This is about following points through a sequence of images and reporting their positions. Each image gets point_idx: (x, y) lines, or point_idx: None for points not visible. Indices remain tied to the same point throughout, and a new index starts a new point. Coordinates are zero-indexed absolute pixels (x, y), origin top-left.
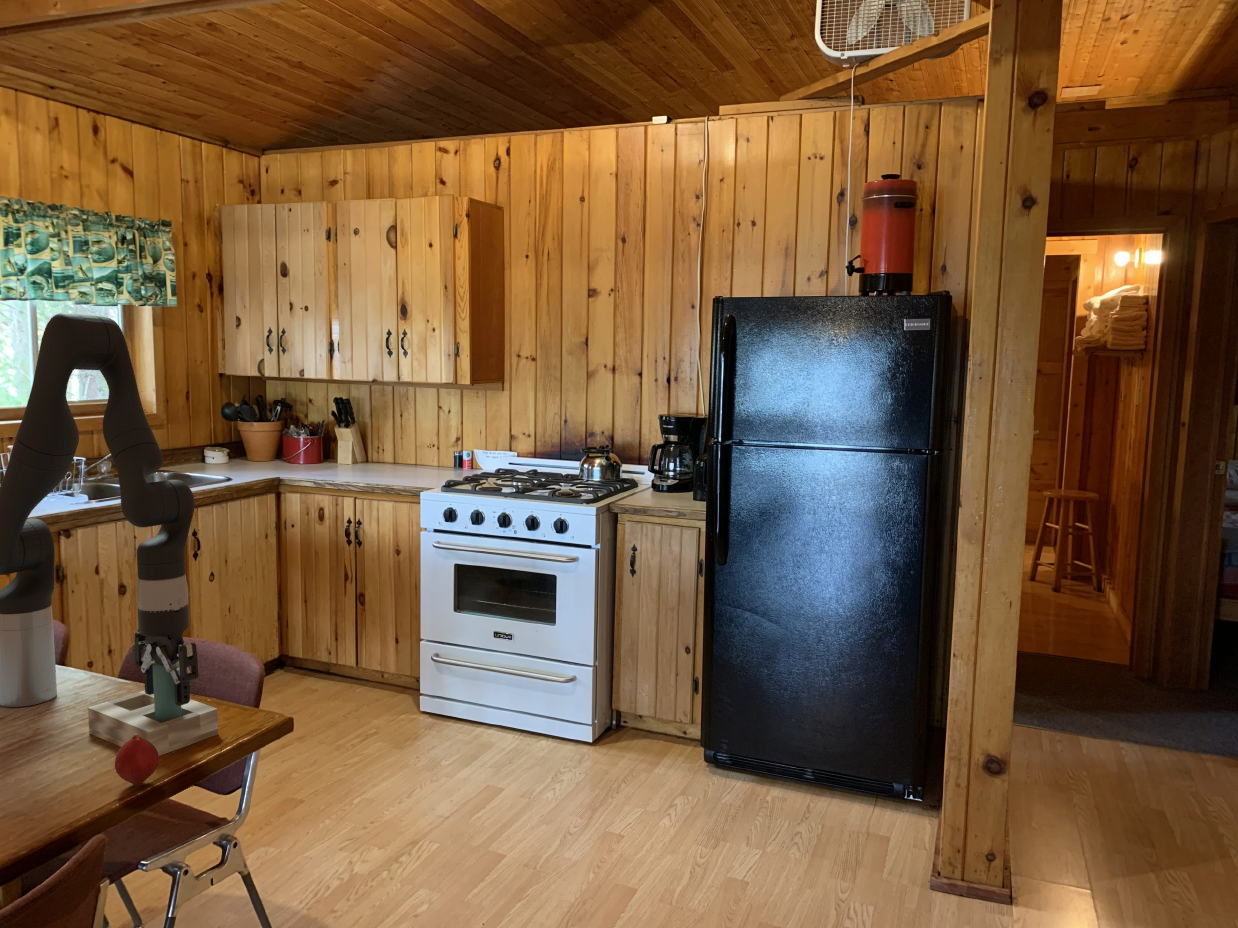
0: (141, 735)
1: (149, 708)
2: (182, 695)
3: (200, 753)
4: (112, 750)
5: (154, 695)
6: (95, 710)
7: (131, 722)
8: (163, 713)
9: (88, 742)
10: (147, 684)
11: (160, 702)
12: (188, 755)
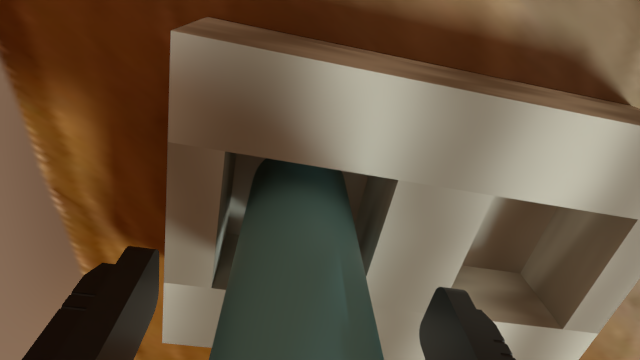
0: (256, 41)
1: (431, 246)
2: (69, 303)
3: (89, 140)
4: (426, 19)
5: (329, 263)
6: None
7: (376, 91)
8: (268, 207)
9: (580, 39)
10: (463, 334)
11: (274, 238)
12: (109, 109)
